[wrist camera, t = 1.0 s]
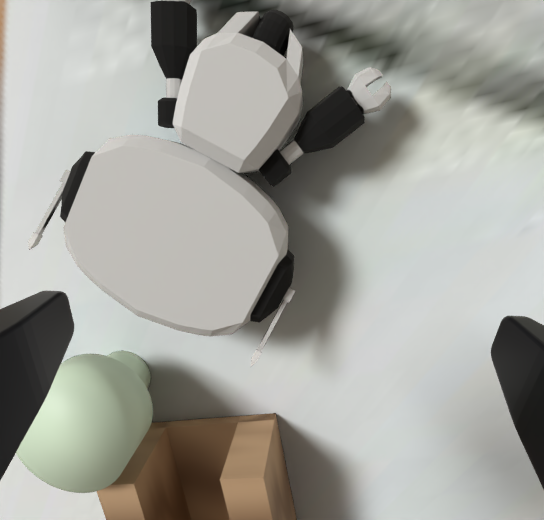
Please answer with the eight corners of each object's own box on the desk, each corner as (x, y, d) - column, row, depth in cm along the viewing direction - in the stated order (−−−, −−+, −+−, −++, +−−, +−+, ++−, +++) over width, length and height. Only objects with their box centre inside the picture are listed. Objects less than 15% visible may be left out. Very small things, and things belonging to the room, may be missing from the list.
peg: (182, 413, 26) (141, 490, 20) (95, 420, 27) (31, 495, 21) (159, 324, 24) (107, 379, 18) (67, 335, 25) (-9, 390, 19)
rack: (300, 538, 27) (295, 623, 22) (171, 541, 29) (140, 621, 24) (275, 413, 25) (263, 477, 20) (137, 423, 26) (94, 485, 21)
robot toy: (176, -25, 20) (68, 243, 23) (138, -81, 16) (11, 259, 19) (398, 95, 20) (259, 344, 24) (422, 72, 16) (247, 383, 19)
